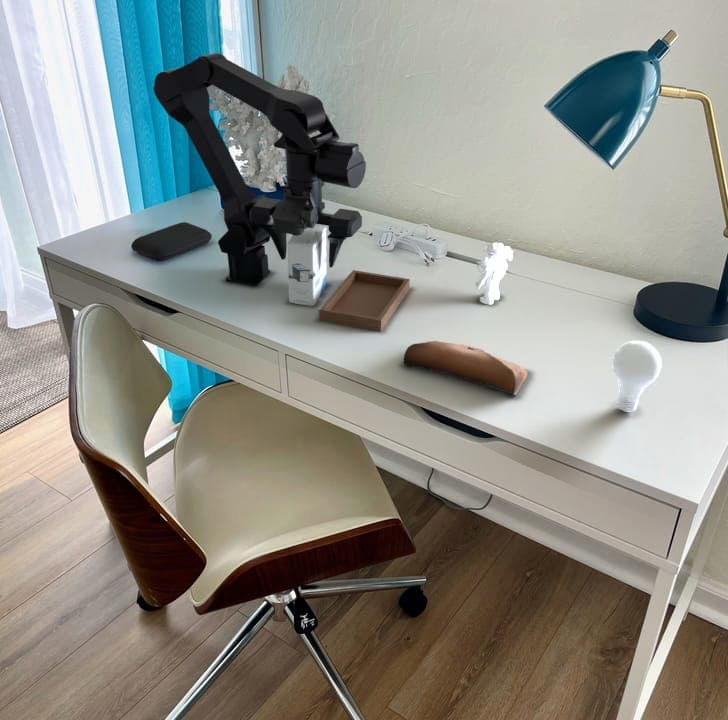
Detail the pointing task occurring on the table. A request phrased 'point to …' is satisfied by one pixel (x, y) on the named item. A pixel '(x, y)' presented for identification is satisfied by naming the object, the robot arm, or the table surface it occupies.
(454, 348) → the sunglasses case
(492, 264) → the flower shoulder figurine
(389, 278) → the desk tray
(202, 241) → the carrying case
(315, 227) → the ink box
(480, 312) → the table surface
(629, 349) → the lightbulb
